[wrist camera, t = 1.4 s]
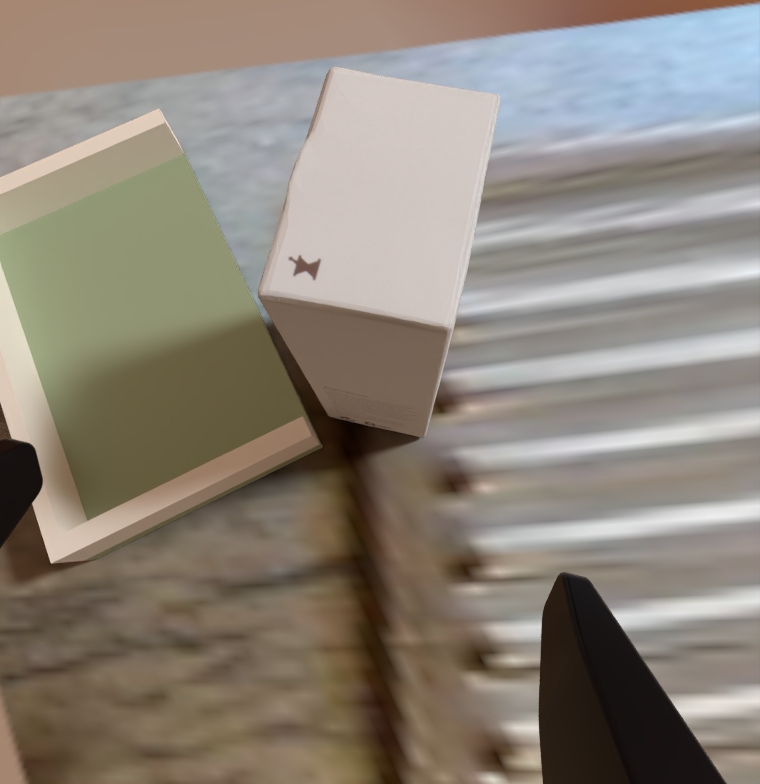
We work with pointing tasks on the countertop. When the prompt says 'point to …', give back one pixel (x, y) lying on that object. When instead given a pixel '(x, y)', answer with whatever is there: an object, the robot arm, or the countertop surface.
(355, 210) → the skincare box
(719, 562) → the countertop surface
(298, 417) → the pad
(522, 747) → the countertop surface
